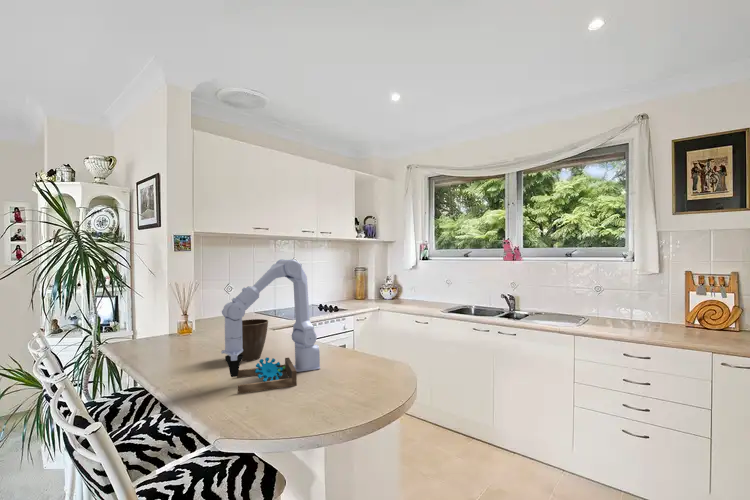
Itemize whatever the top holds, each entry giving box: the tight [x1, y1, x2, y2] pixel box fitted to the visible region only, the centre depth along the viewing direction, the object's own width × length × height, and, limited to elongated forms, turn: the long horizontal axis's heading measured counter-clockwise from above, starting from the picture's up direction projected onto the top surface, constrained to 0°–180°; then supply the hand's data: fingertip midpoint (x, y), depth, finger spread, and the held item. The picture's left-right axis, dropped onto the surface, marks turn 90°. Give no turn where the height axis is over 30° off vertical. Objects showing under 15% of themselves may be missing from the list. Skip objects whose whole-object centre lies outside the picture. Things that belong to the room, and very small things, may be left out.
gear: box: [255, 357, 285, 382], centre depth 132 cm, size 11×6×10 cm
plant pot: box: [241, 318, 269, 362], centre depth 160 cm, size 15×15×16 cm
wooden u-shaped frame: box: [236, 357, 298, 395], centre depth 131 cm, size 19×18×5 cm
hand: (234, 376), depth 127 cm, fingers closed
